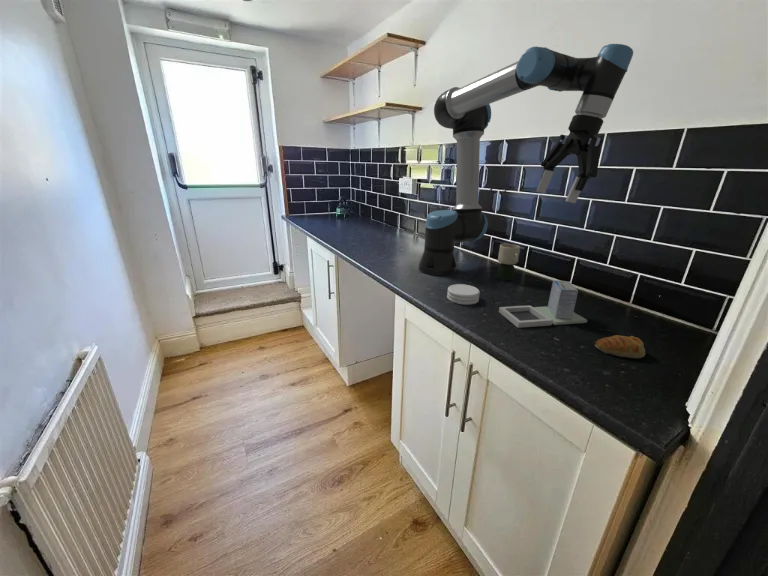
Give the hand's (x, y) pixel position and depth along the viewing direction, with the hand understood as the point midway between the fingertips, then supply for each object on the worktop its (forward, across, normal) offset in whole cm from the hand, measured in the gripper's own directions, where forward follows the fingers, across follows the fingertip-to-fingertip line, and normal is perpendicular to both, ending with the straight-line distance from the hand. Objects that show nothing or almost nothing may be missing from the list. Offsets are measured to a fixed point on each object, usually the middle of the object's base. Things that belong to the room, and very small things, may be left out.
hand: (554, 197), depth 95 cm
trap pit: (+32, -17, +7) cm, 37 cm away
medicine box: (+29, -17, -4) cm, 34 cm away
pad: (+30, -17, -4) cm, 35 cm away
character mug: (+33, +15, -6) cm, 37 cm away
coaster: (+36, -1, +18) cm, 40 cm away
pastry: (+28, -36, -5) cm, 46 cm away
